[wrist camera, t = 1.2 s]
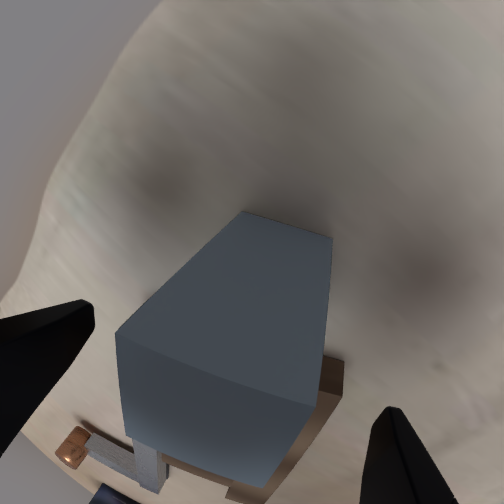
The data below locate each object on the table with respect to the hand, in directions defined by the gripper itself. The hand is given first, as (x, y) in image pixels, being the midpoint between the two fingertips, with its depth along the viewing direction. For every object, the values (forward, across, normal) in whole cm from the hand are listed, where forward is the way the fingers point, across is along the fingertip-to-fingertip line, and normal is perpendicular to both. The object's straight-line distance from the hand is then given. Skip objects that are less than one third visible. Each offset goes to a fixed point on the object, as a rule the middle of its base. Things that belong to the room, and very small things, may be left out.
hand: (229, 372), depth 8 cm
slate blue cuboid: (+7, 0, 0) cm, 7 cm away
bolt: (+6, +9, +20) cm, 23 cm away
